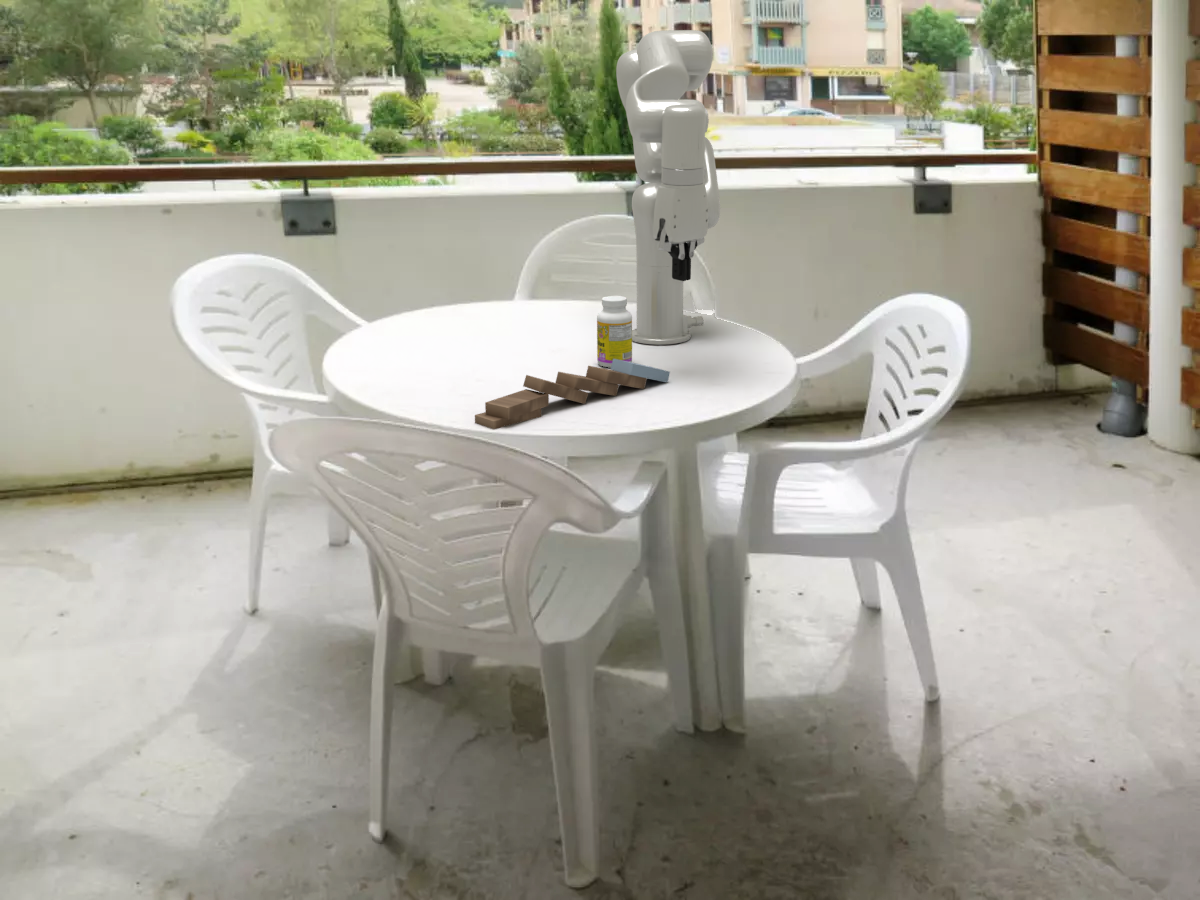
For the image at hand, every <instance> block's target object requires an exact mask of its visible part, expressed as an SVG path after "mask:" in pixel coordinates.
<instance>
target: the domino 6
mask: <svg viewBox="0 0 1200 900" xmlns="http://www.w3.org/2000/svg"><path fill="white" fill-rule="evenodd" d="M610 370H614V371H618V372H622V373H626V374H629V375H634V376H639V377H643V378H647V379H649V380H653V381H658V382H663V383H668V381H669V378H670V374H671V371H669V370H665V369H662V368H656V367H653V366H649V365H644V364H640V363H634V362H632V363H631V362H627V361H622V360H618V359H613V362H612V366H611V368H610Z"/></svg>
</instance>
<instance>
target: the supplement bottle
mask: <svg viewBox="0 0 1200 900" xmlns="http://www.w3.org/2000/svg"><path fill="white" fill-rule="evenodd" d="M627 299H628V298H627V297H625V296H622V295H609V296H603V297H602V298H601V305H602V310H600V311H599V312H598V313H597V315H596V339H597V340H596V345H597V346H596V349H597V351H596V352H597V353H596V355H597V356H596V358H597V359H596V360H597V364H598V365H599V366H601V367H602V366H603V367H602V368H606V367H608V368H607V369H611V366H612V362H613V359H618V360H622V361H627V362H631V363H633V341H632V330H633V316H632V313H631V311H629V310H627V304H628V301H627Z"/></svg>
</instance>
